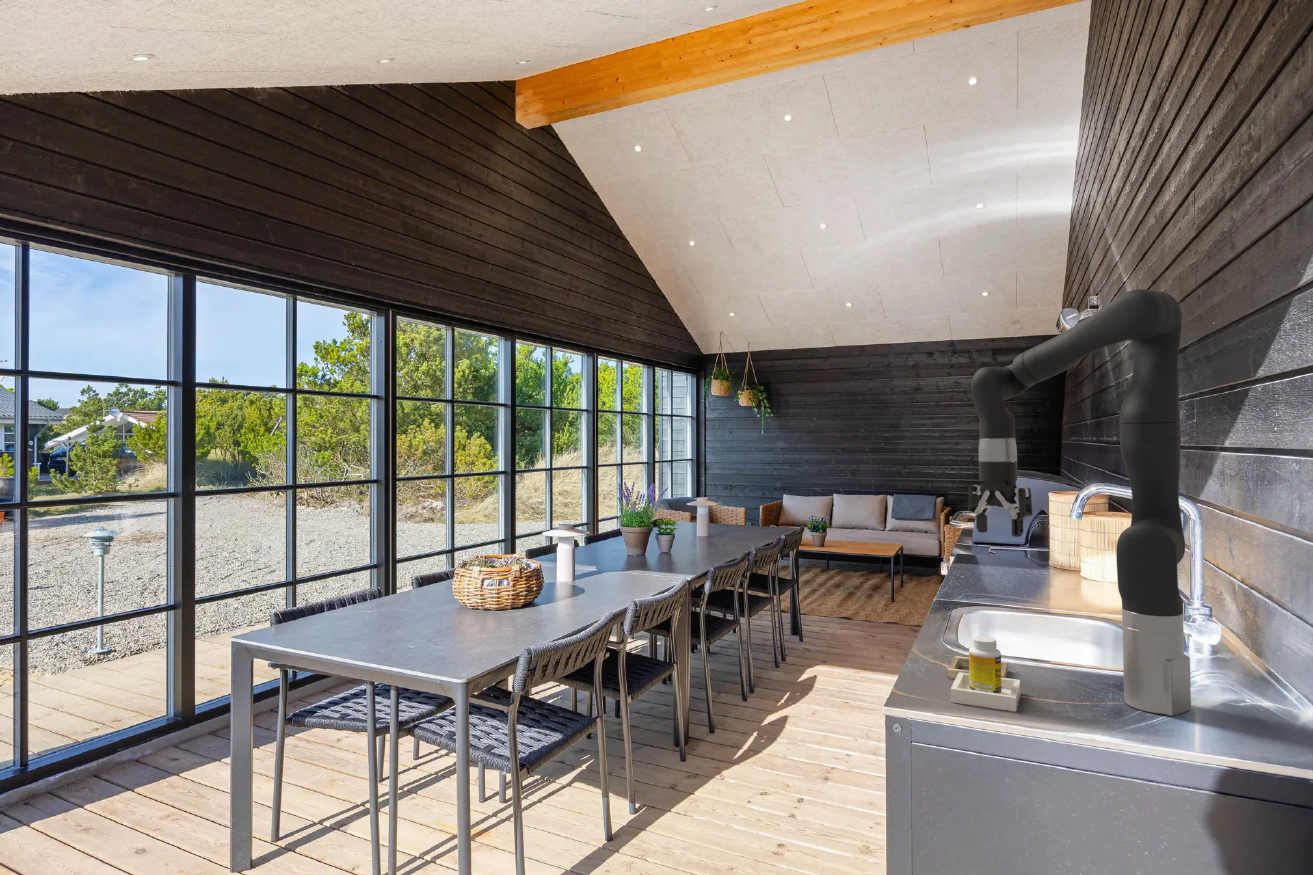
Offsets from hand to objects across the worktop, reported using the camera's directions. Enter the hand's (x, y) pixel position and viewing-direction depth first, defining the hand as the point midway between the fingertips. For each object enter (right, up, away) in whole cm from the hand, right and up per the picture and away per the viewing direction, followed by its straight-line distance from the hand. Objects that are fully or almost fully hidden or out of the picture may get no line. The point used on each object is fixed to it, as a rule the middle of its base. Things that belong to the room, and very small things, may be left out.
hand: (999, 534), depth 160 cm
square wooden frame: (-7, -28, -6) cm, 30 cm away
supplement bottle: (-12, -28, -20) cm, 36 cm away
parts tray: (-12, -28, -20) cm, 37 cm away
